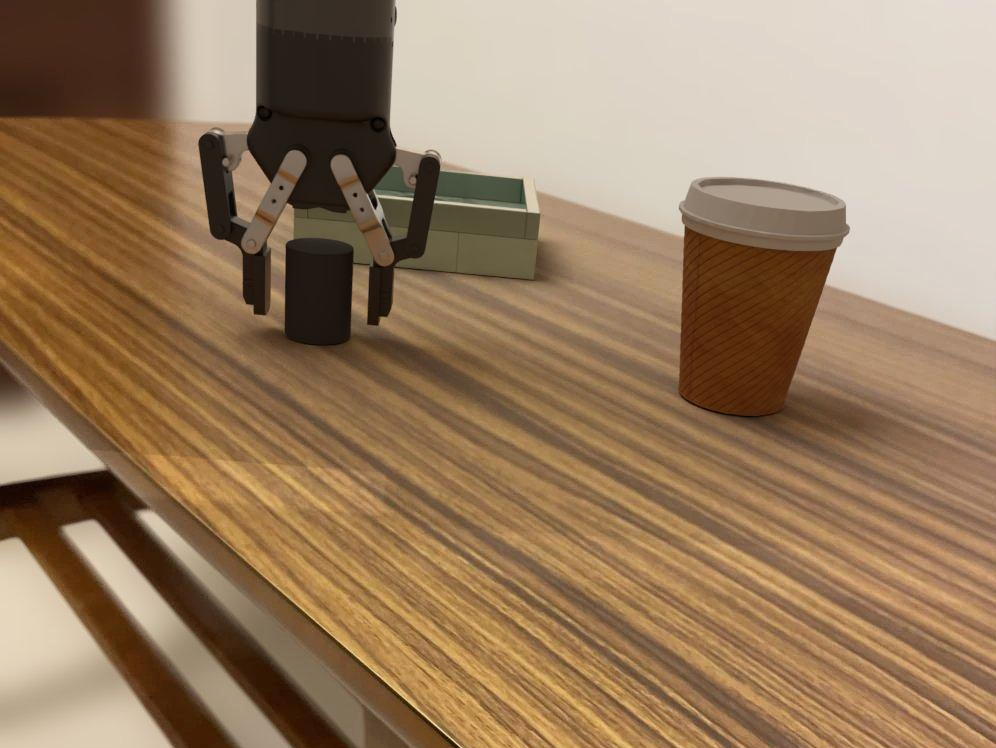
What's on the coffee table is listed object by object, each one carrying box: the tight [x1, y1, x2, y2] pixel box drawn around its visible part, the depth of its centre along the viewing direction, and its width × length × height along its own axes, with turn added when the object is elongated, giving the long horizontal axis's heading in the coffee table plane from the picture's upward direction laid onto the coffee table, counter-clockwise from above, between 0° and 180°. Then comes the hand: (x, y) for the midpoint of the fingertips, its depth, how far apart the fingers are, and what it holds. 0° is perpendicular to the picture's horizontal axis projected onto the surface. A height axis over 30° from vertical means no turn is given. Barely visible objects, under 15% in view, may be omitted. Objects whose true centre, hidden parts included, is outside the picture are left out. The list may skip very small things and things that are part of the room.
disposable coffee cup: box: [678, 176, 851, 417], centre depth 71 cm, size 10×10×12 cm
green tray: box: [292, 189, 539, 281], centre depth 98 cm, size 18×15×3 cm
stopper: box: [284, 238, 354, 346], centre depth 75 cm, size 4×4×6 cm
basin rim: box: [293, 164, 541, 240], centre depth 97 cm, size 18×14×2 cm
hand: (318, 316), depth 75 cm, fingers open, 6 cm apart
